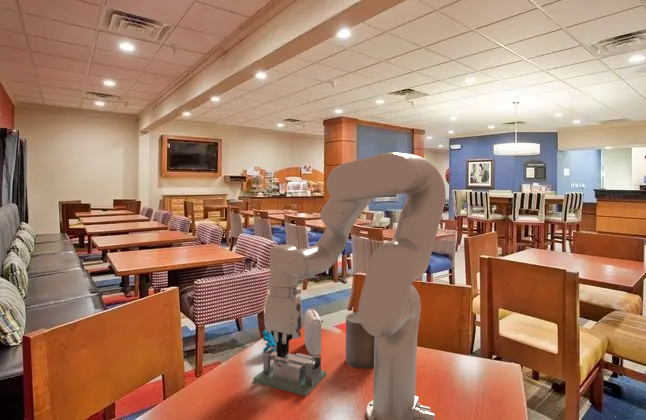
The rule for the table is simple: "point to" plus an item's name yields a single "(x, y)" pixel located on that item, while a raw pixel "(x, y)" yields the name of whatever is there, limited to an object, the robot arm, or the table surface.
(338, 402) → the table surface
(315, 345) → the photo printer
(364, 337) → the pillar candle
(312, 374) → the grey block frame
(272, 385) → the board
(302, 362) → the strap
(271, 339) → the gear
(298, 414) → the table surface
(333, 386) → the table surface
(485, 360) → the table surface
